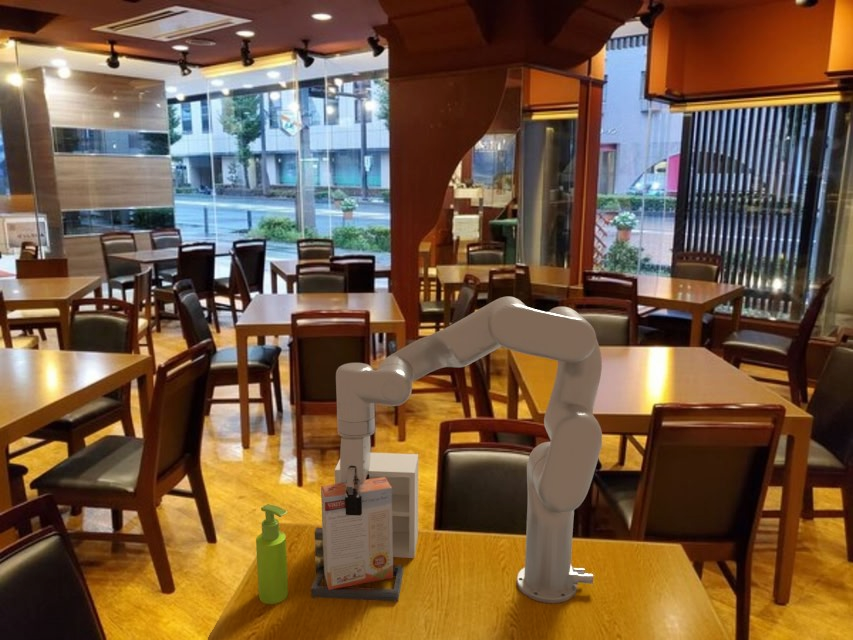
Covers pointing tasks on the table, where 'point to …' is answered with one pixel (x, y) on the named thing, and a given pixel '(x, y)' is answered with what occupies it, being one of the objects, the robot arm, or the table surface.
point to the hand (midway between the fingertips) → (358, 502)
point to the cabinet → (398, 497)
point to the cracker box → (357, 535)
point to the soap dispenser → (272, 558)
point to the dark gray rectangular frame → (350, 591)
